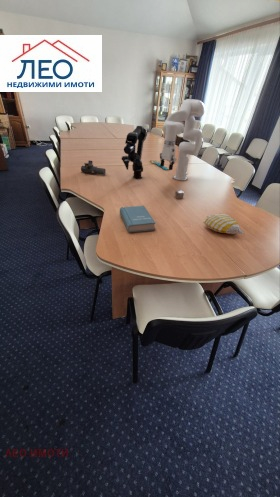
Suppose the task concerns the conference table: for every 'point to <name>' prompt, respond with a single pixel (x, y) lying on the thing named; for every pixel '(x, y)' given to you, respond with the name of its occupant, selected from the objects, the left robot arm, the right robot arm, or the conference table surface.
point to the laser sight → (92, 169)
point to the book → (137, 219)
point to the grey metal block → (179, 194)
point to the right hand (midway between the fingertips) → (166, 168)
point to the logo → (158, 164)
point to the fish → (223, 224)
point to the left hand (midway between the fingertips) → (131, 171)
